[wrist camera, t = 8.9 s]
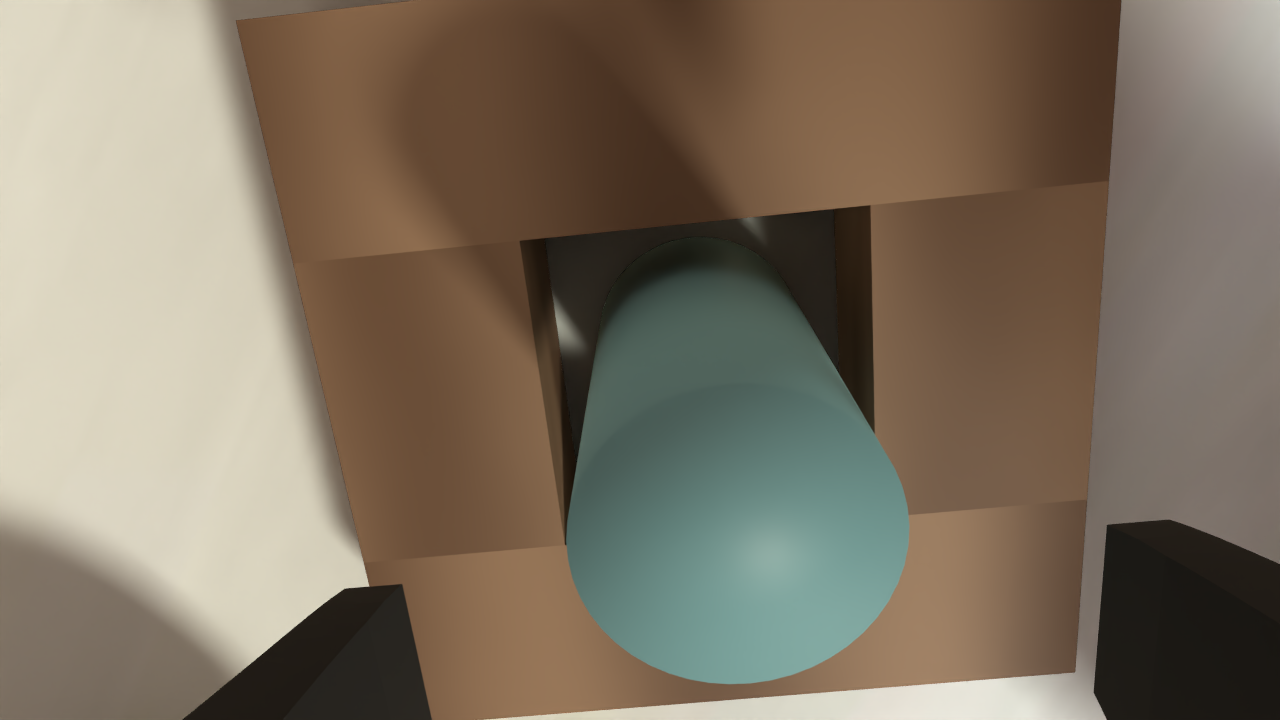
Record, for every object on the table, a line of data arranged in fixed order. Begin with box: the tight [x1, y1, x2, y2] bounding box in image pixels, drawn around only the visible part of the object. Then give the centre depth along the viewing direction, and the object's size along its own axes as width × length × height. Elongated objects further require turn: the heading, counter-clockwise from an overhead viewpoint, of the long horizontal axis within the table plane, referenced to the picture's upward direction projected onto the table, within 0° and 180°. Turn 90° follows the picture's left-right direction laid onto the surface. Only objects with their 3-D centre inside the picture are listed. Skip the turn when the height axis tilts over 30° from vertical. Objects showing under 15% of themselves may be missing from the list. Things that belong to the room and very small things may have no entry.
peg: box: [566, 237, 909, 684], centre depth 14 cm, size 4×4×8 cm
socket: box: [236, 0, 1121, 720], centre depth 17 cm, size 13×13×3 cm
